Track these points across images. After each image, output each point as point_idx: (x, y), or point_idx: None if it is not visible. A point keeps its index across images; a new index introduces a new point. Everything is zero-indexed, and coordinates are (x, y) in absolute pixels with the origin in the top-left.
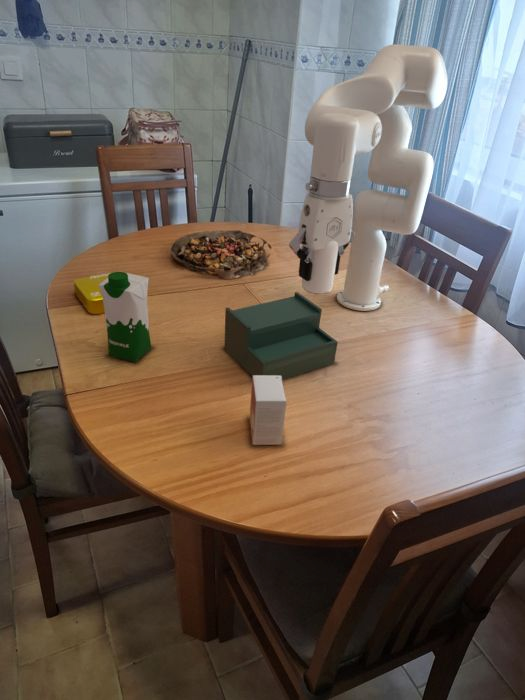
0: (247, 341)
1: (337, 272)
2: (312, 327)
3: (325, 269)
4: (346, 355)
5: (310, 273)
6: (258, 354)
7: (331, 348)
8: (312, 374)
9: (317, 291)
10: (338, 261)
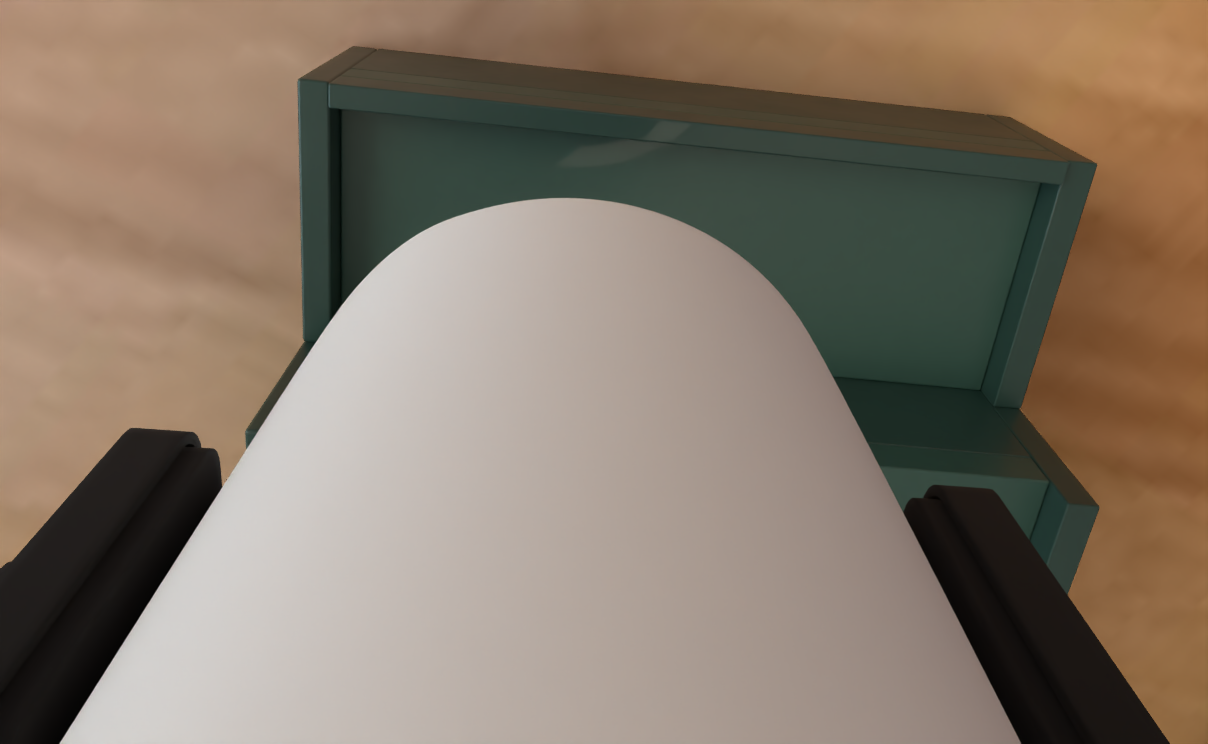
0: (1039, 434)
1: (141, 441)
2: None
3: (744, 457)
4: (186, 77)
5: (1006, 582)
6: (968, 316)
7: (376, 75)
8: (600, 28)
9: (759, 279)
10: (12, 631)
